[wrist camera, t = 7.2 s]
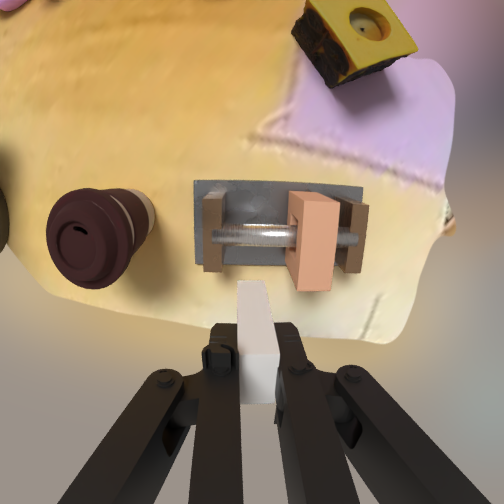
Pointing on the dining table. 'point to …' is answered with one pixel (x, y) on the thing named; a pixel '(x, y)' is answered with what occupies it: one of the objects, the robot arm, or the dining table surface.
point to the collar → (312, 240)
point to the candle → (351, 38)
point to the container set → (11, 4)
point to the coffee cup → (97, 233)
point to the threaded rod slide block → (268, 222)
